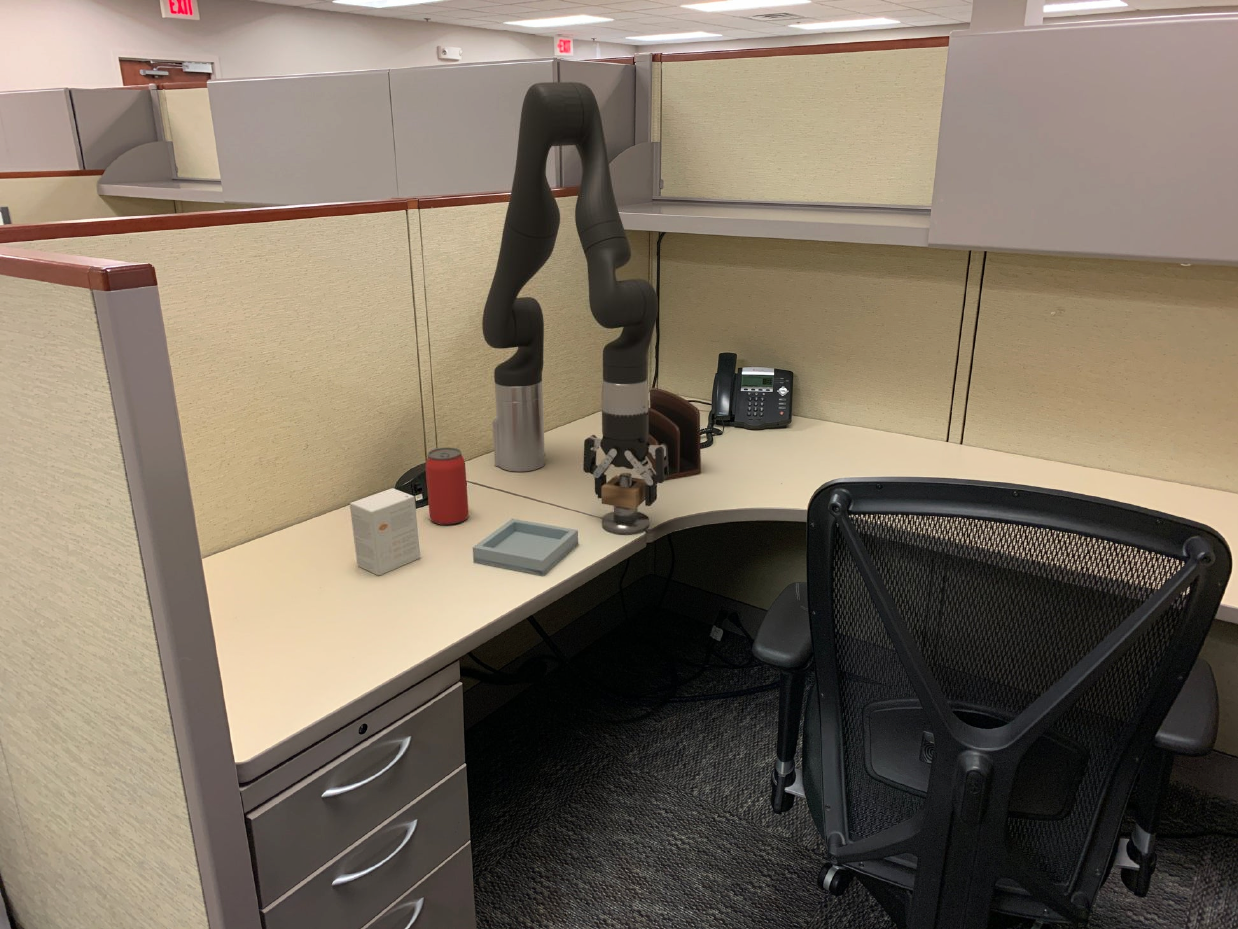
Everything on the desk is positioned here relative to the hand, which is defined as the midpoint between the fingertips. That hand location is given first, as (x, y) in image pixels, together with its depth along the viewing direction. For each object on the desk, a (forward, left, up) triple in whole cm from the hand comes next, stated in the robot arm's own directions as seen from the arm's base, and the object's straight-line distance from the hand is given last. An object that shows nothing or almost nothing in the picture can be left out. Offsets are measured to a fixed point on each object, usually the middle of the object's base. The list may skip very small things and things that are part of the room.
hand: (625, 500), depth 145 cm
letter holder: (-7, +31, -5) cm, 32 cm away
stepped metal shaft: (0, 0, -4) cm, 4 cm away
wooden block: (0, 0, 0) cm, 0 cm away
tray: (-10, -16, -4) cm, 19 cm away
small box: (-28, -27, -5) cm, 39 cm away
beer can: (-29, -9, -5) cm, 31 cm away
